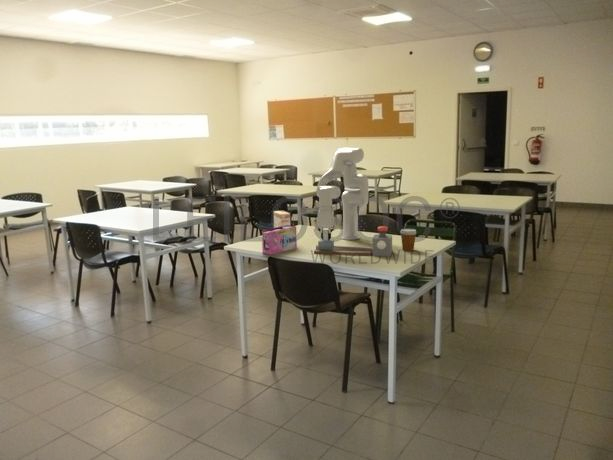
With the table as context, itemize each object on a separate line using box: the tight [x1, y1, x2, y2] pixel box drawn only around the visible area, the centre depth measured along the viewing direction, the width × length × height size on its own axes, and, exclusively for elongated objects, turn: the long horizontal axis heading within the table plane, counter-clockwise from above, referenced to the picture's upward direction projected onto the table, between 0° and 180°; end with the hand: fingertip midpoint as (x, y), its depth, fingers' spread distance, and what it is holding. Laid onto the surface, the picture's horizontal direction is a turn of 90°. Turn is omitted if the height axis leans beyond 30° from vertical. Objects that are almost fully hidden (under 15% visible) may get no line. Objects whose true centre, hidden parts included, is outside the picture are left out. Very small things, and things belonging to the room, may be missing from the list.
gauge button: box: [377, 225, 389, 238], centre depth 293 cm, size 6×6×9 cm
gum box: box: [261, 225, 298, 256], centre depth 307 cm, size 24×8×14 cm, turn 140°
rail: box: [313, 244, 373, 256], centre depth 300 cm, size 12×33×4 cm, turn 76°
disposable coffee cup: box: [399, 228, 417, 252], centre depth 302 cm, size 10×10×12 cm
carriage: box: [317, 229, 335, 250], centre depth 302 cm, size 7×8×11 cm
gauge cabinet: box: [372, 233, 393, 257], centre depth 294 cm, size 12×10×10 cm
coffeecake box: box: [273, 210, 291, 228], centre depth 332 cm, size 15×7×20 cm, turn 20°
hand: (326, 239), depth 302 cm, fingers closed on carriage, 3 cm apart
